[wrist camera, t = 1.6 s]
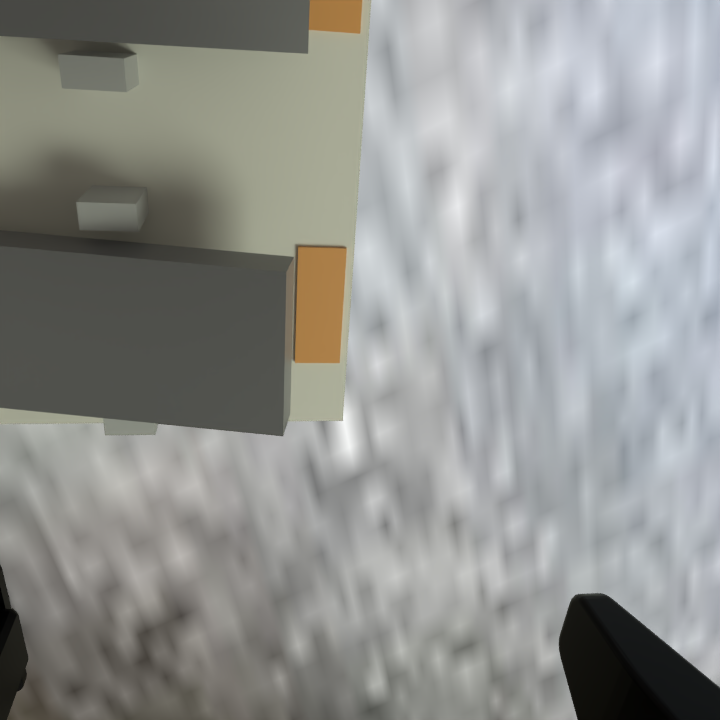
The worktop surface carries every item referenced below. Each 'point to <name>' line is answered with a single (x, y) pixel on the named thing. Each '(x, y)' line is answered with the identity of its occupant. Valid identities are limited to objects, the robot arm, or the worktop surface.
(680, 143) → the worktop surface
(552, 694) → the worktop surface
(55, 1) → the block
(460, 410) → the worktop surface
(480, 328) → the worktop surface
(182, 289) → the block
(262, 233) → the switch panel
